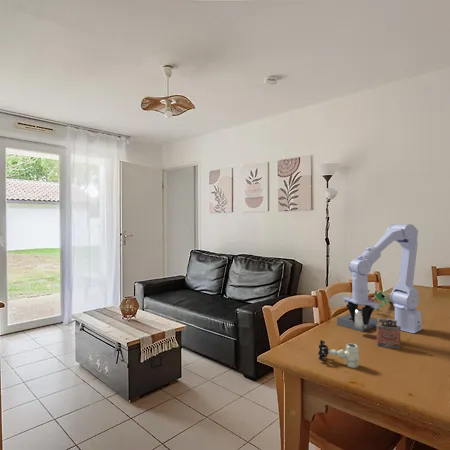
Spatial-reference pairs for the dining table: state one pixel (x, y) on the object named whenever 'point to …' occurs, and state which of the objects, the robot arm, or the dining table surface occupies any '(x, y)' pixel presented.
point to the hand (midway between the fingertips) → (360, 322)
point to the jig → (348, 322)
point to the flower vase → (381, 297)
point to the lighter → (388, 333)
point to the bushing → (359, 318)
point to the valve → (341, 353)
